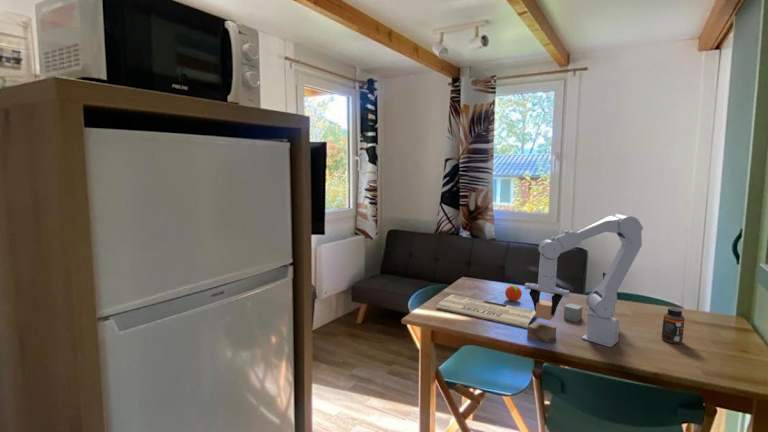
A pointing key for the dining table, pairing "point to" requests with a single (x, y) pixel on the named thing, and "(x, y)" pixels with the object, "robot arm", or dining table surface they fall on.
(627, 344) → the dining table surface
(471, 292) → the dining table surface
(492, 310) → the newspaper
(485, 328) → the dining table surface
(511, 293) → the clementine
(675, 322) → the supplement bottle
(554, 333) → the walnut block
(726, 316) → the dining table surface
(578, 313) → the slate cube
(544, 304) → the terracotta cube
